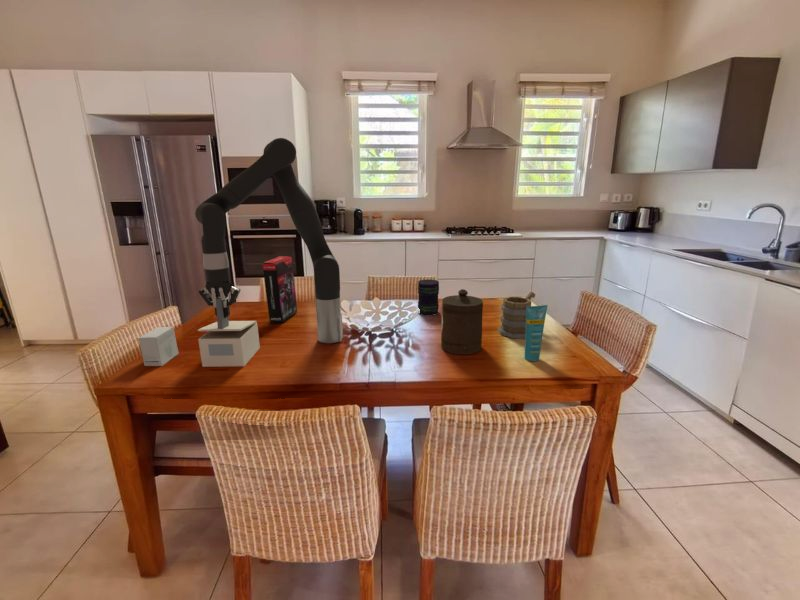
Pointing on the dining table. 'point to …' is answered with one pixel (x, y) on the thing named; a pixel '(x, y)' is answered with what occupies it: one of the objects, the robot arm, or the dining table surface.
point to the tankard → (514, 316)
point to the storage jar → (428, 296)
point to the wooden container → (461, 324)
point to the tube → (534, 331)
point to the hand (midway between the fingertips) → (223, 317)
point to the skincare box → (158, 346)
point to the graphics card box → (280, 288)
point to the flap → (225, 321)
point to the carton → (229, 347)
